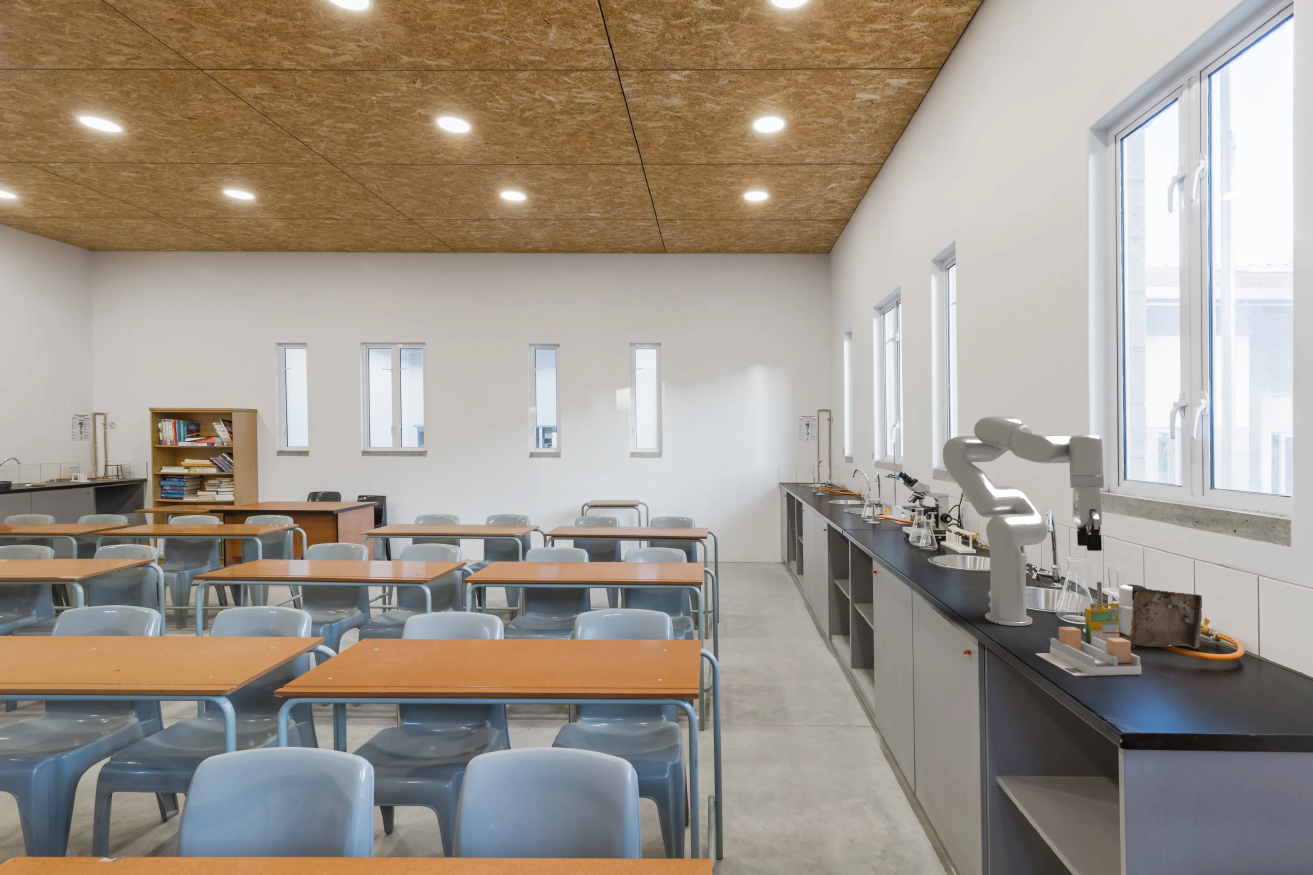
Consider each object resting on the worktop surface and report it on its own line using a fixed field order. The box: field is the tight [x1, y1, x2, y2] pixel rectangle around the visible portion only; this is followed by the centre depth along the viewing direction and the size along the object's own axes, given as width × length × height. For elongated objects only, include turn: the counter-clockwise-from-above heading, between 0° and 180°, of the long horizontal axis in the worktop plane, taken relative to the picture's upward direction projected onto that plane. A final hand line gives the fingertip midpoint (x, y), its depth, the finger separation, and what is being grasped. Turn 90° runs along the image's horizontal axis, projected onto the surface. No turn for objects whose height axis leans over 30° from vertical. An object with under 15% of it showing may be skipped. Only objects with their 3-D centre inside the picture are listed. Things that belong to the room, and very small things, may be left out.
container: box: [1111, 583, 1147, 637], centre depth 198 cm, size 8×8×13 cm
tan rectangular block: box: [1058, 626, 1082, 650], centre depth 177 cm, size 3×4×5 cm
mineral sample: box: [1127, 588, 1203, 649], centre depth 184 cm, size 17×4×15 cm, turn 81°
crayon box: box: [1084, 603, 1121, 645], centre depth 185 cm, size 7×3×12 cm, turn 85°
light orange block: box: [1106, 637, 1132, 663], centre depth 167 cm, size 3×4×5 cm
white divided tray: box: [1035, 637, 1142, 677], centre depth 172 cm, size 16×16×4 cm
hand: (1089, 547), depth 185 cm, fingers open, 9 cm apart
